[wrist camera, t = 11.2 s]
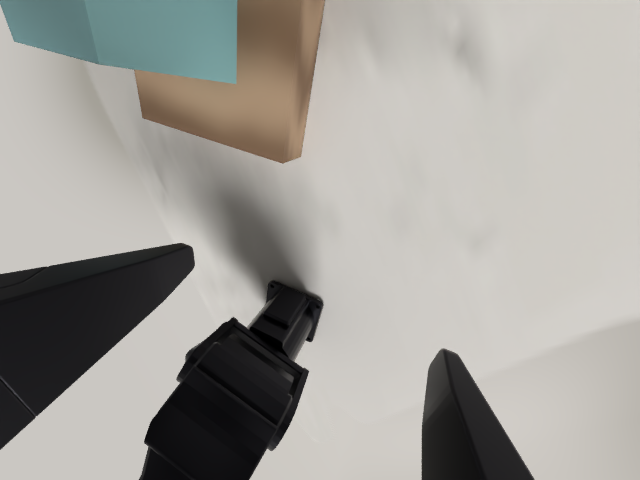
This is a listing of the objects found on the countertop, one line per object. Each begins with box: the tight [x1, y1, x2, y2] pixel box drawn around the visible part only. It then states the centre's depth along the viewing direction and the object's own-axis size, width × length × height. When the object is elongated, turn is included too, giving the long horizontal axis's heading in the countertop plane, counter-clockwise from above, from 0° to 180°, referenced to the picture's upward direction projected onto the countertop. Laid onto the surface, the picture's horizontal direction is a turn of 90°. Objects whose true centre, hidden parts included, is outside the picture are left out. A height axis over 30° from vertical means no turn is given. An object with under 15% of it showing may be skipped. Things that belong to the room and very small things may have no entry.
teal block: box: [0, 0, 237, 84], centre depth 12 cm, size 5×5×8 cm
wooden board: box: [134, 0, 325, 163], centre depth 16 cm, size 13×13×3 cm
